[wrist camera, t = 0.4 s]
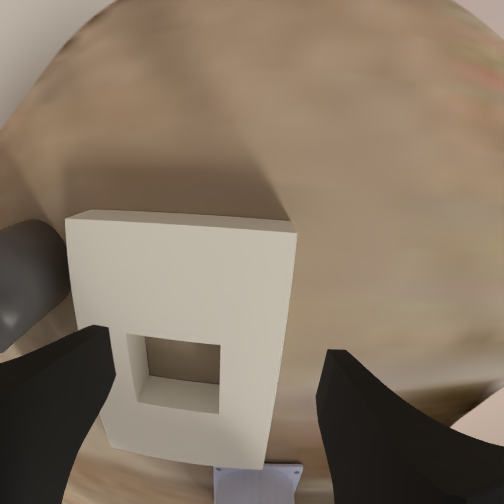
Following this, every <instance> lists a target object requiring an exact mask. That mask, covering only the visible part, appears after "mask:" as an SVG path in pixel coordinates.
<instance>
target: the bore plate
mask: <svg viewBox="0 0 504 504" xmlns="http://www.w3.org/2000/svg"><path fill="white" fill-rule="evenodd" d="M65 231H66V245H67V256H68V266H69V274H70V282H71V290H72V297H73V303H74V309H75V315H76V321H77V326H78V330H80V329H83V328H85V327H88V326H90V325H93V324H94V325H99V326H104V327H109V333H110V340H111V347H112V353H113V359H114V365H115V370H116V377H115V380H114V383H113V385H112V388H111V391H110V393H109V395H108V398H107V400H106V402H105V403H104V405H103V407H102V409H101V411H100V412H99V414H100V417H101V420H102V423H103V426H104V429H105V432H106V435H107V438H108V440H109V443H110V446H111V447H112V448H116V449H120V450H124V451H128V452H132V453H137V454H141V455H146V456H150V457H155V458H161V459H166V460H172V461H178V462H184V463H191V464H198V465H206V466H215V467H226V468H238V469H255V470H263V464H264V459H265V454H266V448H267V443H268V437H269V432H270V426H271V420H272V414H273V408H274V402H275V396H276V390H277V384H278V378H279V371H280V365H281V358H282V351H283V344H284V337H285V330H286V323H287V316H288V308H289V301H290V293H291V285H292V277H293V268H294V260H295V251H296V242H297V231H296V230H295V228H294V226H293V224H292V222H291V221H283V220H270V219H258V218H244V217H230V216H215V215H199V214H183V213H164V212H144V211H122V210H95V209H90V210H88V211H85V212H82V213H79V214H76V215H74V216H71V217H68V218H65ZM145 336H148V337H155V338H163V339H170V340H178V341H187V342H196V343H205V344H215V345H221V352H220V385H219V384H209V383H200V382H192V381H184V380H177V379H170V378H163V377H156V376H150V375H149V370H148V362H147V353H146V344H145Z"/></svg>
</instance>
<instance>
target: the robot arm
mask: <svg viewBox="0 0 504 504" xmlns="http://www.w3.org/2000/svg"><path fill="white" fill-rule="evenodd" d="M115 377H116V370H115V365H114V359H113V353H112V347H111V340H110V333H109V327H104V326H99V325H94V324H93V325H90V326H88V327H85V328H83V329H80V330H78V331H76V332H74V333H72V334H70V335H68V336H66V337H63V338H61V339H59V340H57V341H55V342H53V343H51V344H49V345H47V346H44V347H42V348H40V349H37V350H35V351H33V352H30V353H28V354H26V355H23V356H21V357H18V358H15V359H12V360H10V361H6V362H3V363H0V504H61V503H62V499H63V495H64V491H65V488H66V485H67V481H68V478H69V475H70V472H71V469H72V466H73V464H74V461H75V458H76V456H77V453H78V451H79V449H80V447H81V445H82V443H83V441H84V439H85V437H86V435H87V434H88V432H89V430H90V428H91V426H92V425H93V423H94V421H95V419H96V418H97V416H98V414H99V412H100V411H101V409H102V407H103V405H104V403H105V402H106V400H107V398H108V395H109V393H110V391H111V388H112V385H113V383H114V380H115ZM316 405H317V415H318V423H319V427H320V431H321V436H322V440H323V444H324V448H325V452H326V456H327V460H328V464H329V468H330V473H331V478H332V483H333V491H334V501H335V504H504V447H503V446H499V445H495V444H491V443H488V442H484V441H481V440H479V439H476V438H473V437H470V436H467V435H465V434H463V433H460V432H458V431H456V430H454V429H451V428H449V427H447V426H445V425H443V424H441V423H439V422H438V421H436V420H434V419H432V418H430V417H429V416H427V415H426V414H424V413H422V412H421V411H419V410H417V409H416V408H414V407H413V406H411V405H410V404H409V403H407V402H406V401H405V400H403V399H402V398H401V397H399V396H398V395H397V394H395V393H394V392H393V391H392V390H390V389H389V388H388V387H387V386H386V385H384V384H383V383H382V382H381V381H380V380H379V379H377V378H376V377H375V376H374V375H373V374H372V373H371V372H370V371H369V370H367V369H366V368H365V367H364V366H363V365H362V364H361V363H360V362H359V361H358V360H357V359H356V358H354V357H353V356H352V355H351V354H350V353H349V352H348V351H346V350H331V349H327V354H326V358H325V362H324V366H323V370H322V374H321V378H320V382H319V386H318V390H317V394H316ZM302 472H303V465H301V464H263V470H255V469H238V468H226V467H215V466H213V480H214V504H295V500H294V493H295V490H296V488H297V485H298V482H299V480H300V477H301V474H302Z"/></svg>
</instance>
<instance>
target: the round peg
mask: <svg viewBox="0 0 504 504" xmlns="http://www.w3.org/2000/svg"><path fill="white" fill-rule="evenodd" d="M70 289H71V282H70V274H69V266H68V256H67V247H66V245H65V243H64V241H63V240H62V238H61V237H60V235H59V234H58V233H57V232H56V231H55V230H54V229H53V228H52V227H51V226H50V225H48V224H47V223H45V222H43V221H40V220H34V219H33V220H27V221H24V222H21V223H18V224H15V225H13V226H10V227H7V228H4V229H2V230H0V353H3V352H4V351H5V350H7V349H8V348H9V347H10V346H11V345H12V344H13V343H14V342H15V341H16V340H18V339H19V338H20V337H21V336H22V335H23V334H24V333H25V332H27V331H28V330H29V329H30V328H31V327H32V326H33V325H35V324H36V323H37V322H38V321H39V320H40V319H42V318H43V317H44V316H45V315H46V314H48V313H49V312H50V311H51V310H52V309H53V308H55V307H56V306H57V305H58V304H59V303H61V302H62V301H63V300H64V299H65V298H66V297H67V295H68V294H69V292H70Z"/></svg>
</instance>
